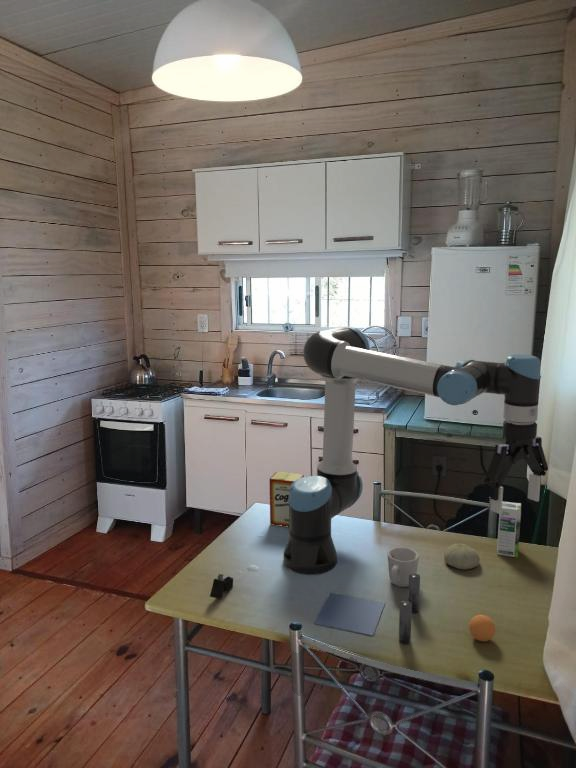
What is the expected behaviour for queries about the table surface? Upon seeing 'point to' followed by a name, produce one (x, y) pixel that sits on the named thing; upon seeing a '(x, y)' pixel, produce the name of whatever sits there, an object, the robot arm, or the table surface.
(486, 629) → the ball
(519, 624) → the table surface
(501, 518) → the syrup box
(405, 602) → the post
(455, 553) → the sea urchin shell
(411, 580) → the post
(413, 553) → the cup
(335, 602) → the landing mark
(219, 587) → the black spring clamp
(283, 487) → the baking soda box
